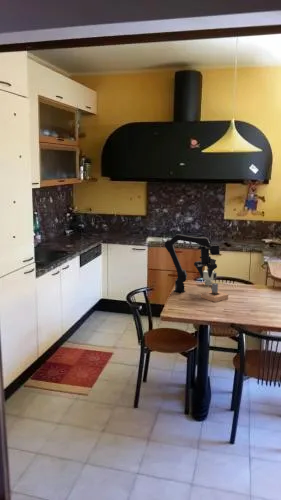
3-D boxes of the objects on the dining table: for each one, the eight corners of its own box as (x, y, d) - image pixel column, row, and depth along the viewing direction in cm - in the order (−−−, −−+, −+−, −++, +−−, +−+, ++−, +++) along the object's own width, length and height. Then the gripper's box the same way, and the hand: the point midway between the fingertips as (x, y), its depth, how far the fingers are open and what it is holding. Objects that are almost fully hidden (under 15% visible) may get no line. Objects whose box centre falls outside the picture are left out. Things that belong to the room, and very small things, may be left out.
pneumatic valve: (215, 286, 307) (216, 271, 305) (200, 285, 310) (200, 270, 308) (216, 284, 313) (216, 269, 310) (200, 283, 315) (201, 268, 313)
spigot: (210, 297, 279) (210, 283, 277) (214, 296, 281) (214, 282, 279) (214, 299, 276) (215, 285, 274) (218, 298, 278) (219, 284, 276)
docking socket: (201, 297, 280) (201, 293, 279) (214, 294, 287) (214, 290, 287) (215, 302, 270) (215, 297, 269) (228, 298, 277) (228, 294, 277)
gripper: (222, 255, 281) (223, 277, 283) (205, 252, 297) (205, 273, 299) (210, 257, 275) (211, 279, 278) (193, 254, 291) (193, 275, 293)
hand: (205, 276), depth 287 cm, fingers open, 9 cm apart
